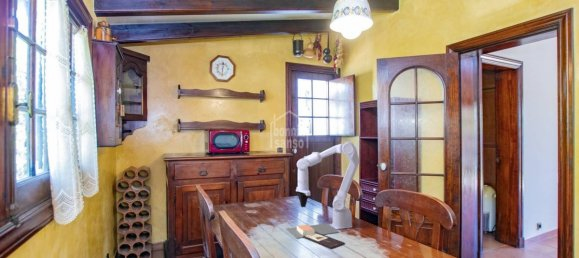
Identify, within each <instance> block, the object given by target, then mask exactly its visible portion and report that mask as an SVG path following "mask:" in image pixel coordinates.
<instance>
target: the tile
mask: <svg viewBox="0 0 579 258" xmlns="http://www.w3.org/2000/svg"><path fill="white" fill-rule="evenodd" d="M296 227H297V231H298V232H299V233H301V234H302V235H309V234H315V230H314V229H313V228H312V227H310V224H302V225H297V226H296Z"/></svg>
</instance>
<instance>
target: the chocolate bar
mask: <svg viewBox="0 0 579 258" xmlns="http://www.w3.org/2000/svg"><path fill="white" fill-rule="evenodd" d="M302 239H305V240H307V241H310V242H312V243H315V244H317V245H320V246H322V247H324V248H327V249H328V250H334V249H336V248H338V247H341V246H344V245H345V244H346V242H344V241H342V240H338V239H336V238H334V237H330V236H327V235H323V234H320V233H317V232H315V234H309V235H306V236H303V238H302Z"/></svg>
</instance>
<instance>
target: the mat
mask: <svg viewBox="0 0 579 258" xmlns="http://www.w3.org/2000/svg"><path fill="white" fill-rule="evenodd" d="M309 226H310V227H312V228H313V229H314V230H315V232H317V233H320V234H323V235H325V236H327V235H333V234H339V230H337V229H335V228H333V227H332V226H330V225H329V224H327V223H320V224H311V225H310V224H309ZM286 231H288V233H290V234H291V235H292V236H293V237H294V238H295V239H297V240H298V239H304V238H303V236H306V235H302V234H301V233H299V232H298V231H297V226H296V227H289V228H286Z"/></svg>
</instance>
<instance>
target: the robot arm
mask: <svg viewBox="0 0 579 258" xmlns="http://www.w3.org/2000/svg"><path fill="white" fill-rule="evenodd" d="M342 153H343V154H344V155H345V156H346V157H347V159H348V161H349V163H348V165H347V169H346V171H345V174H344V176H343V179H342V182H341V185H340V186H339V190H338V192H337V194H336V195H335V196H334V198H333V201H332V208H331V209H332V210H331V211H332V212H331V214H332V215H331V216H332V223H329V224H328V225H329V226H330V227H332V228H333V229H335V230H344V229H349V228H353V221H352V219H353V216H352V211H351V209H349V207H346V202H347V201H346V199H347V196H348V193H349V190H350V188H351V185H352V182H353V180H354V178H355V174H356V171H357V170H358V168H359V167H358V166H359V164H360V158H359V154H358V150H357V148H356V146H355V145H354V143H353V142H351V141H345V142H344V143H339V144H336V145H333V146H331V147H329V148H327V149H325V150H324V151H322V152H318V151H316V152H315V151H313V152H311V154H309V155H305V156H303V157H302V158H300V159H298V161H297V162H296V167H297V186H296V189H295V192H297V193H296V195H297V197H298V200H299V204H300V207H301V208H305V207H306V205H307V202H308V199H309V197H310V196H311V191H310V189H309V167H313V166H315V165H318V164H319V163H321V162H322V161H323V159H324V158H327V157H329V156H331V155H334V154H342Z"/></svg>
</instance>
